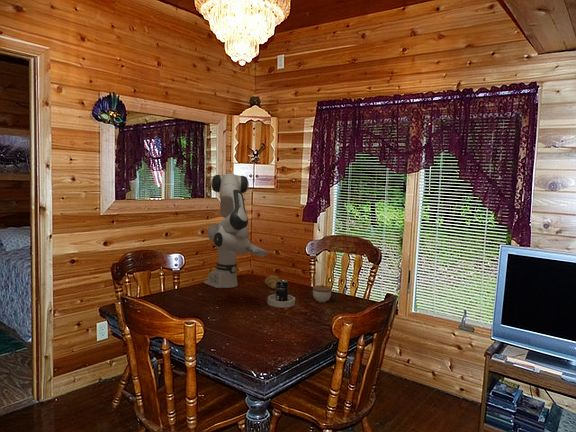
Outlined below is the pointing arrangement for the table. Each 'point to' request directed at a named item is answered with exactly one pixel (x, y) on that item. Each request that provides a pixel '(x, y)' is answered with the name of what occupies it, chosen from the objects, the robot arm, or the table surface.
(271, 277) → the croissant
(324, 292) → the lidded jar
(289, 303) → the pale grey round disc
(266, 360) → the table surface
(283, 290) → the beverage can
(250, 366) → the table surface
